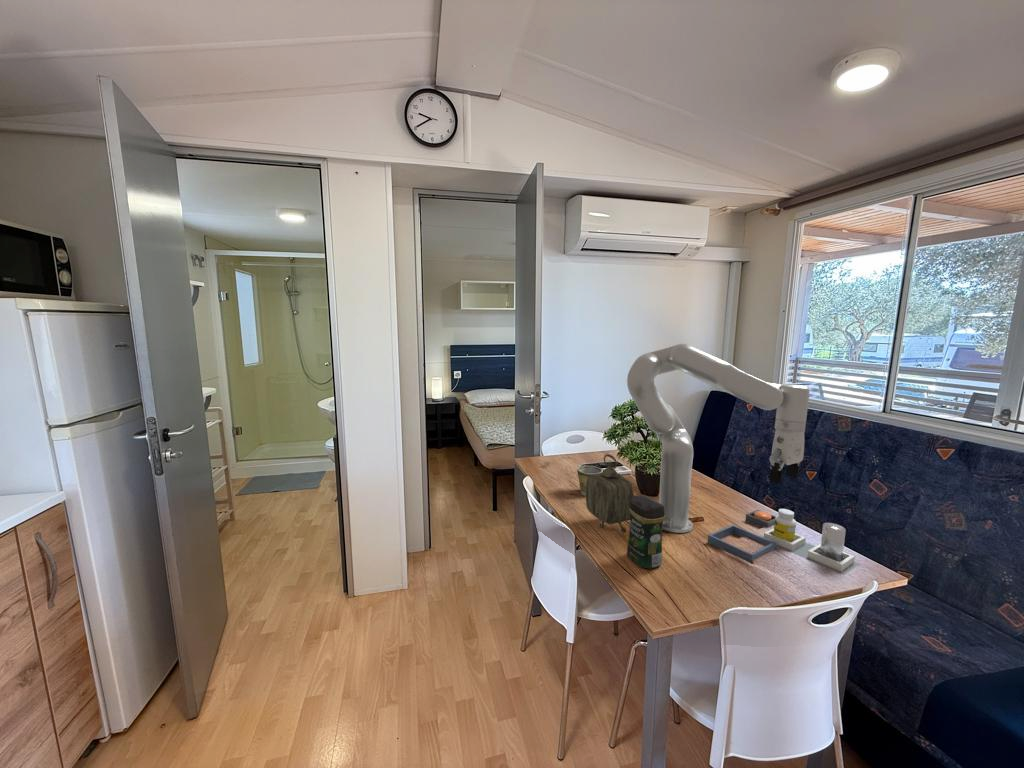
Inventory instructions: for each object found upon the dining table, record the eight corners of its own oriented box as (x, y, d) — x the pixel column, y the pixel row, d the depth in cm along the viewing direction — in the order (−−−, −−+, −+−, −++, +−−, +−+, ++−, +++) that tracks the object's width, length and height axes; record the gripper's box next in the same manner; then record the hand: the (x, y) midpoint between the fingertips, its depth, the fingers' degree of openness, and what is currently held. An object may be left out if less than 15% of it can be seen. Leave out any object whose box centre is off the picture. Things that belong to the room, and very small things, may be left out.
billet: (837, 567, 110) (841, 533, 109) (816, 558, 114) (819, 525, 113) (844, 561, 112) (848, 528, 111) (823, 553, 117) (827, 521, 115)
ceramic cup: (588, 500, 156) (589, 475, 154) (571, 491, 164) (572, 468, 163) (611, 493, 162) (612, 469, 161) (594, 485, 171) (595, 462, 169)
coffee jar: (622, 554, 117) (624, 494, 115) (644, 549, 120) (647, 490, 118) (643, 572, 108) (646, 507, 106) (666, 567, 111) (670, 503, 109)
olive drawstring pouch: (631, 534, 129) (635, 460, 126) (608, 540, 125) (611, 463, 122) (604, 515, 142) (607, 448, 139) (583, 520, 139) (585, 450, 135)
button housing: (767, 530, 133) (768, 523, 132) (745, 521, 139) (745, 514, 139) (779, 524, 136) (779, 517, 136) (756, 516, 143) (757, 509, 142)
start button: (766, 523, 134) (766, 518, 134) (751, 517, 138) (751, 513, 138) (774, 519, 137) (774, 515, 136) (758, 514, 141) (759, 509, 141)
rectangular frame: (751, 563, 113) (752, 555, 113) (707, 542, 124) (708, 534, 124) (775, 550, 120) (776, 543, 119) (732, 531, 131) (732, 524, 131)
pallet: (843, 577, 107) (845, 567, 106) (758, 541, 125) (759, 532, 125) (859, 566, 112) (860, 556, 111) (774, 533, 130) (775, 524, 130)
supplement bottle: (768, 537, 126) (771, 507, 125) (784, 536, 126) (787, 507, 125) (781, 546, 121) (784, 515, 119) (798, 545, 121) (801, 515, 120)
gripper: (789, 431, 113) (782, 488, 115) (817, 425, 121) (811, 478, 124) (761, 425, 119) (755, 480, 121) (790, 420, 128) (784, 471, 130)
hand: (783, 479), depth 122 cm, fingers open, 9 cm apart
